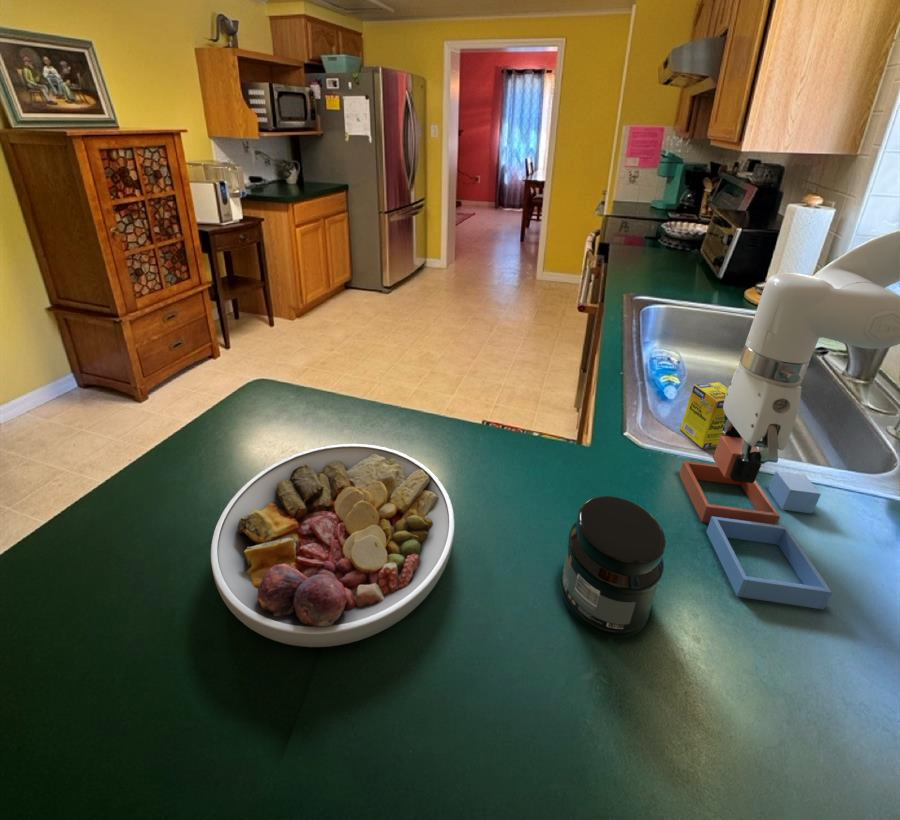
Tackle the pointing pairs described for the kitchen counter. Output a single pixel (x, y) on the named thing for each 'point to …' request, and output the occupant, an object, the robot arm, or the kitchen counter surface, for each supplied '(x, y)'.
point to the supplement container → (613, 566)
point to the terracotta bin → (706, 510)
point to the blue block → (794, 492)
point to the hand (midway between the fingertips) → (734, 467)
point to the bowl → (332, 544)
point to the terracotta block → (729, 453)
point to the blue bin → (763, 589)
